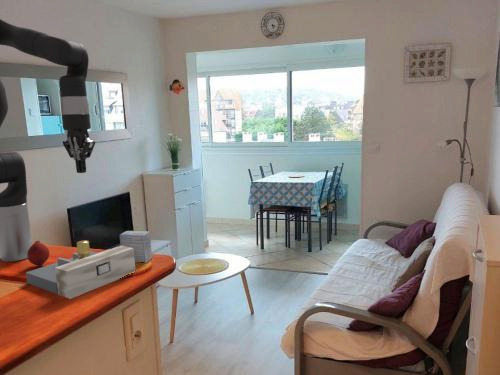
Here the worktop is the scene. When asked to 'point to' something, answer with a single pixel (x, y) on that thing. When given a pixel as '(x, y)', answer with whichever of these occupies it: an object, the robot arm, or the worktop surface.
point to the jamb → (94, 271)
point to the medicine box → (138, 244)
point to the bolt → (85, 252)
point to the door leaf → (49, 274)
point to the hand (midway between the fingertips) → (81, 172)
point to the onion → (38, 253)
